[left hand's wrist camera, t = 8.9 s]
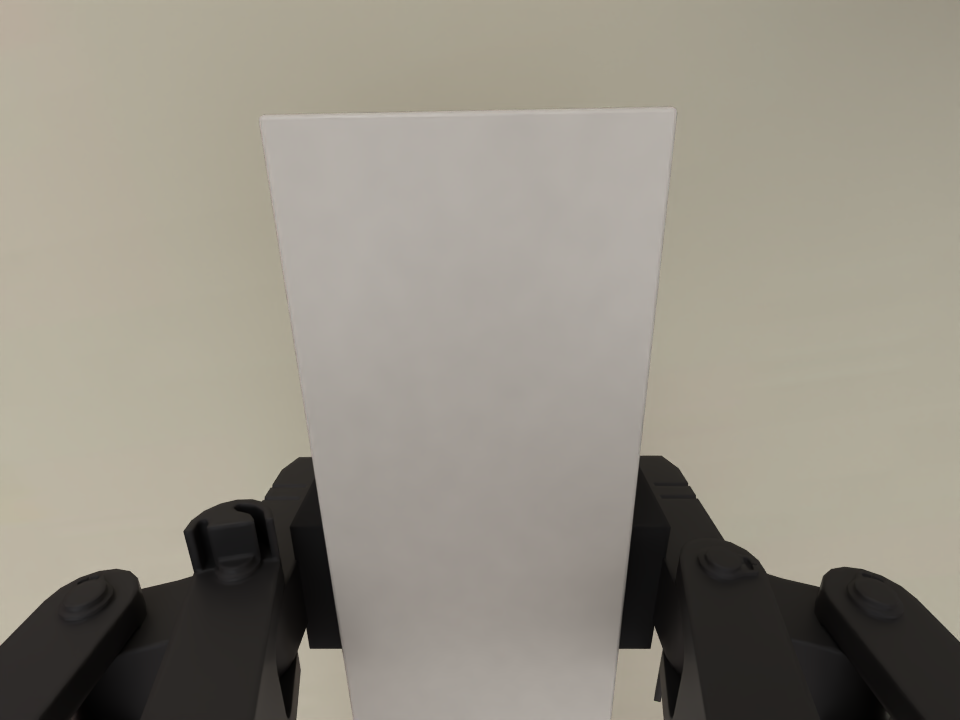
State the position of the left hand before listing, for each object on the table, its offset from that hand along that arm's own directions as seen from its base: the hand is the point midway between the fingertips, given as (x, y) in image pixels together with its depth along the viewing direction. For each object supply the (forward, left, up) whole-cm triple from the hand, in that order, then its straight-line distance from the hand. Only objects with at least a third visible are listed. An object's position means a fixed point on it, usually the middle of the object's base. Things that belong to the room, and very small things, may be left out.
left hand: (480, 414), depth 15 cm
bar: (+28, +6, -1) cm, 28 cm away
